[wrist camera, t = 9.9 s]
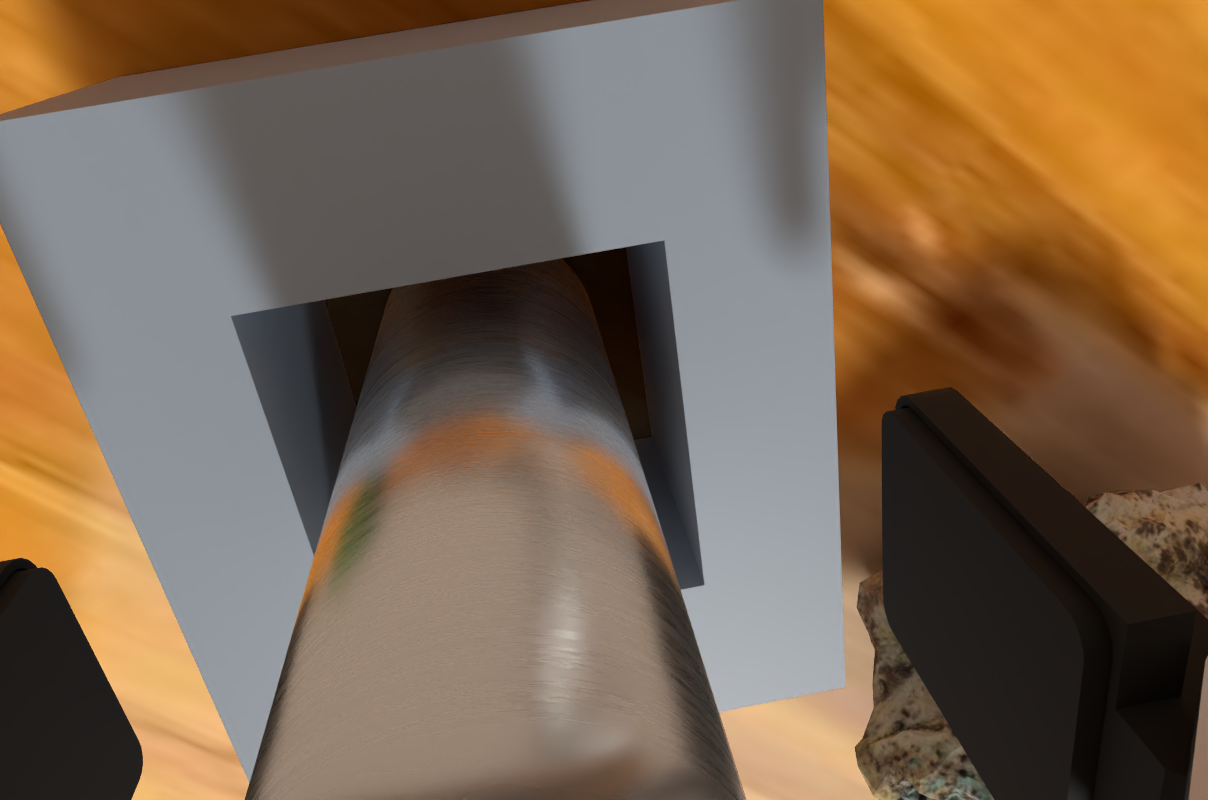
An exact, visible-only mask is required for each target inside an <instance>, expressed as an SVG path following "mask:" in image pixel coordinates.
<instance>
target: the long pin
mask: <svg viewBox="0 0 1208 800" xmlns="http://www.w3.org/2000/svg"><path fill="white" fill-rule="evenodd" d="M245 800H746V797H745V794H744V791H743V788H742V784H741V781H740V778H739V775H738V772H737V768H736V765H735V762H734V759H733V756H732V752H731V749H730V746H729V743H728V740H727V737H726V733H725V730H724V727H723V724H722V721H721V717H720V714H719V711H718V708H717V705H716V701H715V698H714V695H713V692H712V689H711V685H710V682H709V679H708V676H707V673H706V669H705V666H704V663H703V660H702V657H701V653H700V650H699V647H698V644H697V641H696V637H695V634H694V631H693V628H692V625H691V621H690V618H689V615H688V612H687V609H686V605H685V602H684V599H683V596H682V593H681V589H680V586H679V583H678V580H677V577H676V574H675V570H674V567H673V564H672V561H671V558H670V554H669V551H668V548H667V545H666V542H665V538H664V535H663V532H662V529H661V526H660V522H659V519H658V516H657V513H656V510H655V506H654V503H653V500H652V497H651V494H650V490H649V487H648V484H647V481H646V478H645V474H644V471H643V468H642V465H641V462H640V458H639V455H638V452H637V449H636V446H635V442H634V439H633V436H632V433H631V430H630V426H629V423H628V420H627V417H626V414H625V411H624V407H623V404H622V401H621V398H620V395H619V391H618V388H617V385H616V382H615V379H614V375H613V372H612V369H611V366H610V363H609V359H608V356H607V353H606V350H605V347H604V343H603V340H602V337H601V334H600V331H599V327H598V324H597V321H596V318H595V315H594V311H593V308H592V305H591V302H590V299H589V297H588V294H587V292H586V290H585V288H584V286H583V284H582V282H581V281H580V279H579V278H578V276H577V275H576V273H575V272H574V271H573V269H572V268H571V267H570V266H569V265H568V264H567V263H566V262H565V261H564V260H563V259H562V258H560V259H555V260H549V261H543V262H537V263H532V264H526V265H520V266H515V267H509V268H503V269H497V270H492V271H486V272H480V273H475V274H469V275H463V276H457V277H452V278H446V279H440V280H435V281H429V282H423V283H417V284H412V285H406V286H400V287H394V288H392V290H391V292H390V295H389V297H388V300H387V303H386V306H385V310H384V313H383V317H382V321H381V324H380V328H379V331H378V335H377V338H376V342H375V345H374V349H373V352H372V356H371V359H370V363H369V366H368V370H367V373H366V377H365V380H364V384H363V387H362V391H361V394H360V398H359V401H358V405H357V408H356V412H355V415H354V419H353V422H352V426H351V429H350V433H349V436H348V440H347V443H346V447H345V450H344V454H343V457H342V461H341V464H340V468H339V471H338V475H337V478H336V482H335V485H334V489H333V492H332V496H331V499H330V503H329V506H328V510H327V513H326V517H325V520H324V524H323V527H322V531H321V534H320V538H319V541H318V545H317V548H316V552H315V555H314V559H313V562H312V566H311V569H310V573H309V576H308V580H307V583H306V587H305V590H304V594H303V598H302V601H301V605H300V608H299V612H298V615H297V619H296V622H295V626H294V629H293V633H292V636H291V640H290V643H289V647H288V650H287V654H286V657H285V661H284V664H283V668H282V671H281V675H280V678H279V682H278V685H277V689H276V692H275V696H274V699H273V703H272V706H271V710H270V713H269V717H268V720H267V724H266V727H265V731H264V734H263V738H262V741H261V745H260V748H259V752H258V755H257V759H256V762H255V766H254V769H253V773H252V776H251V780H250V783H249V787H248V790H247V794H246V797H245Z"/></svg>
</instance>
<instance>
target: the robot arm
mask: <svg viewBox="0 0 1208 800" xmlns="http://www.w3.org/2000/svg"><path fill="white" fill-rule="evenodd" d="M882 538H883V604H884V610H885V614H886V617H887V620H888V623H889V626H890V628H891V630H892V632H893V634H894V635H895V637H896V639H897V640H898V642H899V643H900V645H901V647H902V648H903V650H904V652H905V653H906V655H907V657H908V658H909V660H910V662H911V663H912V665H913V667H914V668H915V670H916V671H917V673H918V675H919V676H920V678H921V680H922V681H923V683H924V685H925V686H926V688H927V690H928V691H929V693H930V695H931V696H932V698H933V700H934V701H935V703H936V704H937V706H938V708H939V709H940V711H941V713H942V714H943V716H944V718H945V719H946V721H947V723H948V724H949V726H950V728H951V729H952V731H953V733H954V734H955V736H956V737H957V739H958V741H959V742H960V744H961V746H962V747H963V749H964V751H965V752H966V754H967V756H968V757H969V759H970V761H971V762H972V764H973V765H974V767H975V769H976V770H977V772H978V774H979V775H980V777H981V779H982V780H983V782H984V784H985V785H986V787H987V789H988V790H989V792H990V794H991V795H992V797H993V798H994V800H1208V619H1207V618H1206V617H1205V616H1204V615H1203V614H1202V613H1201V612H1199V611H1198V610H1197V609H1196V608H1195V607H1194V606H1193V605H1192V604H1191V603H1190V602H1188V601H1187V600H1186V599H1185V598H1184V597H1183V596H1182V595H1181V594H1180V593H1179V592H1178V591H1176V590H1175V589H1174V588H1173V587H1172V586H1171V585H1170V584H1169V583H1168V582H1167V581H1165V580H1164V579H1163V578H1162V577H1161V576H1160V575H1159V574H1158V573H1157V572H1156V571H1155V570H1153V569H1152V568H1151V567H1150V566H1149V565H1148V564H1147V563H1146V562H1145V561H1144V560H1142V559H1141V558H1140V557H1139V556H1138V555H1137V554H1136V553H1135V552H1134V551H1133V550H1132V549H1130V548H1129V547H1128V546H1127V545H1126V544H1125V543H1124V542H1123V541H1122V540H1121V539H1120V538H1118V537H1117V536H1116V535H1115V534H1114V533H1113V532H1112V531H1111V530H1110V529H1109V528H1107V527H1106V526H1105V525H1104V524H1103V523H1102V522H1101V521H1100V520H1099V519H1098V518H1097V517H1095V516H1094V515H1093V514H1092V513H1091V512H1090V511H1089V510H1088V509H1087V508H1086V507H1084V506H1083V505H1082V504H1081V503H1080V502H1079V501H1078V500H1077V499H1076V498H1075V497H1074V496H1072V495H1071V494H1070V493H1069V492H1067V491H1066V490H1065V489H1064V488H1063V487H1061V486H1060V485H1059V484H1058V483H1057V482H1056V481H1055V480H1054V479H1053V478H1052V477H1051V476H1049V475H1048V474H1047V473H1046V472H1045V471H1044V470H1043V469H1042V468H1041V467H1040V466H1038V465H1037V464H1036V463H1035V462H1034V461H1033V460H1032V459H1031V458H1030V457H1029V456H1028V455H1026V454H1025V453H1024V452H1023V451H1022V450H1021V449H1020V448H1019V447H1018V446H1017V445H1016V444H1014V443H1013V442H1012V441H1011V440H1010V439H1009V438H1008V437H1007V436H1006V435H1005V434H1004V433H1002V432H1001V431H1000V430H999V429H998V428H997V427H996V426H995V425H994V424H993V423H992V422H990V421H989V420H988V419H987V418H986V417H985V416H984V415H983V414H982V413H981V412H979V411H978V410H977V409H976V408H975V407H974V406H973V405H972V404H971V403H970V402H969V401H967V400H966V399H965V398H964V397H963V396H962V395H961V394H960V393H959V392H958V391H956V390H955V389H953V388H943V389H937V390H932V391H926V392H921V393H916V394H910V395H905V396H901V397H900V398H899V399H898V401H897V404H896V409H895V410H893V411H887V412H885V413H884V415H883V418H882ZM142 766H143V755H142V749H141V746H140V743H139V740H138V738H137V736H136V735H135V733H134V731H133V729H132V727H131V725H130V723H129V721H128V719H127V717H126V715H125V713H124V711H123V709H122V707H121V705H120V703H119V701H118V699H117V697H116V695H115V693H114V691H113V689H112V687H111V686H110V684H109V682H108V680H107V678H106V676H105V674H104V672H103V670H102V668H101V666H100V664H99V662H98V660H97V658H96V656H95V654H94V652H93V650H92V648H91V646H90V644H89V642H88V640H87V638H86V636H85V635H84V633H83V631H82V629H81V627H80V625H79V623H78V621H77V619H76V617H75V615H74V613H73V611H72V609H71V607H70V605H69V603H68V601H67V599H66V597H65V595H64V593H63V591H62V589H61V587H60V585H59V584H58V582H57V580H56V578H55V577H54V575H53V574H52V572H50V571H49V570H48V569H46V568H42V567H41V568H37V567H36V565H34V564H33V563H32V562H31V561H29V560H27V559H23V558H18V559H12V560H7V561H2V562H0V800H131V799H132V796H133V794H134V792H135V789H136V787H137V784H138V782H139V780H140V776H141V773H142Z"/></svg>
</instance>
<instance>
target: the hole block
mask: <svg viewBox="0 0 1208 800" xmlns="http://www.w3.org/2000/svg"><path fill="white" fill-rule="evenodd" d="M0 224H1V227H2V229H3V231H4V233H5V235H6V238H7V240H8V242H9V244H10V247H11V249H12V251H13V253H14V256H15V258H16V260H17V262H18V265H19V267H20V269H21V271H22V274H23V276H24V278H25V280H26V283H27V285H28V287H29V289H30V292H31V294H32V296H33V298H34V301H35V303H36V305H37V307H38V310H39V312H40V314H41V316H42V318H43V321H44V323H45V325H46V327H47V330H48V332H49V334H50V336H51V339H52V341H53V343H54V345H55V348H56V350H57V352H58V354H59V357H60V359H61V361H62V363H63V366H64V368H65V370H66V372H67V375H68V377H69V379H70V381H71V384H72V386H73V388H74V390H75V393H76V395H77V397H78V399H79V402H80V404H81V406H82V408H83V410H84V413H85V415H86V417H87V419H88V422H89V424H90V426H91V428H92V431H93V433H94V435H95V437H96V440H97V442H98V444H99V446H100V449H101V451H102V453H103V455H104V458H105V460H106V462H107V464H108V467H109V469H110V471H111V473H112V476H113V478H114V480H115V482H116V485H117V487H118V489H119V491H120V493H121V496H122V498H123V500H124V502H125V505H126V507H127V509H128V511H129V514H130V516H131V518H132V520H133V523H134V525H135V527H136V529H137V532H138V534H139V536H140V538H141V541H142V543H143V545H144V547H145V550H146V552H147V554H148V556H149V559H150V561H151V563H152V565H153V568H154V570H155V572H156V574H157V576H158V579H159V581H160V583H161V585H162V588H163V590H164V592H165V594H166V597H167V599H168V601H169V603H170V606H171V608H172V610H173V612H174V615H175V617H176V619H177V621H178V624H179V626H180V628H181V630H182V633H183V635H184V637H185V639H186V642H187V644H188V646H189V648H190V651H191V653H192V655H193V657H194V660H195V662H196V664H197V666H198V668H199V671H200V673H201V675H202V677H203V680H204V682H205V684H206V686H207V689H208V691H209V693H210V695H211V698H212V700H213V702H214V704H215V707H216V709H217V711H218V713H219V716H220V718H221V720H222V722H223V725H224V727H225V729H226V731H227V734H228V736H229V738H230V740H231V743H232V745H233V747H234V749H235V751H236V754H237V756H238V758H239V760H240V763H241V765H242V767H243V769H244V772H245V774H246V776H247V778H248V781H249V783H250V780H251V776H252V773H253V769H254V766H255V762H256V759H257V755H258V752H259V748H260V745H261V741H262V738H263V734H264V731H265V727H266V724H267V720H268V717H269V713H270V710H271V706H272V703H273V699H274V696H275V692H276V689H277V685H278V682H279V678H280V675H281V671H282V668H283V664H284V661H285V657H286V654H287V650H288V647H289V643H290V640H291V636H292V633H293V629H294V626H295V622H296V619H297V615H298V612H299V608H300V605H301V601H302V598H303V594H304V590H305V587H306V583H307V580H308V576H309V573H310V569H311V566H312V562H313V559H314V555H315V552H316V548H317V545H318V541H319V538H320V534H321V531H322V527H323V524H324V520H325V517H326V513H327V510H328V506H329V503H330V499H331V496H332V492H333V489H334V485H335V482H336V478H337V475H338V471H339V468H340V464H341V461H342V457H343V454H344V450H345V447H346V443H347V440H348V436H349V433H350V429H351V426H352V422H353V419H354V415H355V412H356V408H357V406H356V403H355V399H354V396H353V393H352V389H351V386H350V382H349V379H348V376H347V372H346V369H345V366H344V362H343V359H342V355H341V352H340V349H339V345H338V342H337V338H336V335H335V332H334V328H333V325H332V322H331V318H330V315H329V311H328V308H327V305H326V301H325V300H326V299H332V298H337V297H343V296H349V295H354V294H360V293H366V292H372V291H377V290H383V289H389V288H394V287H400V286H406V285H412V284H417V283H423V282H429V281H435V280H440V279H446V278H452V277H457V276H463V275H469V274H475V273H480V272H486V271H492V270H497V269H503V268H509V267H515V266H520V265H526V264H532V263H537V262H543V261H549V260H555V259H560V258H566V257H572V256H578V255H583V254H589V253H595V252H600V251H606V250H612V249H618V248H623V247H626V252H627V260H628V267H629V274H630V282H631V289H632V296H633V304H634V311H635V318H636V326H637V333H638V340H639V348H640V355H641V362H642V370H643V377H644V384H645V392H646V399H647V406H648V414H649V421H650V428H651V436H652V437H647V438H641V439H636V440H634V442H635V446H636V449H637V452H638V455H639V458H640V462H641V465H642V468H643V471H644V474H645V478H646V481H647V484H648V487H649V490H650V494H651V497H652V500H653V503H654V506H655V510H656V513H657V516H658V519H659V522H660V526H661V529H662V532H663V535H664V538H665V542H666V545H667V548H668V551H669V554H670V558H671V561H672V564H673V567H674V570H675V574H676V577H677V580H678V583H679V586H680V589H681V593H682V596H683V599H684V602H685V605H686V609H687V612H688V615H689V618H690V621H691V625H692V628H693V631H694V634H695V637H696V641H697V644H698V647H699V650H700V653H701V657H702V660H703V663H704V666H705V669H706V673H707V676H708V679H709V682H710V685H711V689H712V692H713V695H714V698H715V701H716V705H717V708H718V711H719V712H723V711H728V710H733V709H738V708H743V707H748V706H753V705H758V704H763V703H768V702H773V701H778V700H783V699H788V698H793V697H798V696H803V695H808V694H813V693H818V692H823V691H828V690H833V689H838V688H843V687H845V657H844V627H843V596H842V566H841V536H840V505H839V475H838V445H837V414H836V384H835V353H834V323H833V293H832V262H831V232H830V202H829V171H828V141H827V111H826V80H825V50H824V20H823V0H590V1H584V2H577V3H571V4H565V5H559V6H553V7H547V8H540V9H534V10H528V11H522V12H516V13H510V14H503V15H497V16H491V17H485V18H479V19H473V20H467V21H460V22H454V23H448V24H442V25H436V26H430V27H423V28H417V29H411V30H405V31H399V32H393V33H386V34H380V35H374V36H368V37H362V38H356V39H349V40H343V41H337V42H331V43H325V44H319V45H312V46H306V47H300V48H294V49H288V50H282V51H275V52H269V53H263V54H257V55H251V56H245V57H238V58H232V59H226V60H220V61H214V62H208V63H202V64H195V65H189V66H183V67H177V68H171V69H165V70H158V71H152V72H146V73H140V74H134V75H128V76H121V77H116V78H113V79H110V80H106V81H103V82H100V83H97V84H94V85H91V86H88V87H84V88H81V89H78V90H75V91H72V92H69V93H66V94H63V95H59V96H56V97H53V98H50V99H47V100H44V101H41V102H37V103H34V104H31V105H28V106H25V107H22V108H19V109H16V110H12V111H9V112H6V113H3V114H0Z"/></svg>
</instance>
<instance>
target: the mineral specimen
mask: <svg viewBox="0 0 1208 800" xmlns="http://www.w3.org/2000/svg"><path fill="white" fill-rule="evenodd" d="M1085 507H1086V508H1087V509H1088V510H1089V511H1090V512H1091V513H1092V514H1093V515H1094V516H1095V517H1097V518H1098V519H1099V520H1100V521H1101V522H1102V523H1103V524H1104V525H1105V526H1106V527H1107V528H1109V529H1110V530H1111V531H1112V532H1113V533H1114V534H1115V535H1116V536H1117V537H1118V538H1120V539H1121V540H1122V541H1123V542H1124V543H1125V544H1126V545H1127V546H1128V547H1129V548H1130V549H1132V550H1133V551H1134V552H1135V553H1136V554H1137V555H1138V556H1139V557H1140V558H1141V559H1142V560H1144V561H1145V562H1146V563H1147V564H1148V565H1149V566H1150V567H1151V568H1152V569H1153V570H1155V571H1156V572H1157V573H1158V574H1159V575H1160V576H1161V577H1162V578H1163V579H1164V580H1165V581H1167V582H1168V583H1169V584H1170V585H1171V586H1172V587H1173V588H1174V589H1175V590H1176V591H1178V592H1179V593H1180V594H1181V595H1182V596H1183V597H1184V598H1185V599H1186V600H1187V601H1188V602H1190V603H1191V604H1192V605H1193V606H1194V607H1195V608H1196V609H1197V610H1198V611H1199V612H1201V613H1202V614H1203V615H1204V616H1205V617H1206V618H1207V619H1208V491H1207V490H1206V488H1205V487H1204V486H1203V485H1202V484H1201V482H1200V483H1196V484H1192V485H1187V486H1183V487H1179V488H1175V489H1170V490H1166V491H1162V492H1158V491H1155V490H1140V491H1121V490H1119V491H1114V492H1110V493H1107V492H1105V493H1104V494H1101V495H1097V496H1093V497H1089V498H1088V501H1087V504H1086V506H1085ZM857 609H858V611H859V614H860V616H861V618H862V620H863V622H864V624H865V626H866V629H867V631H868V633H869V636H870V638H871V642H872V644H873V646H874V648H875V658H874V671H873V700H874V709H873V711H872V714H871V717H870V720H869V722H868V725H867V728H866V730H865V733H864V736H863V739H862V740H861V741H860V742H859V743H858V744H857V745H856V746H855V752H856V758H857V764H858V767H859V769H860V771H861V773H862V775H863V777H864V779H865V781H866V782H867V784H868V786H869V788H870V790H871V792H872V794H873V796H874V797H876V798H878V799H879V800H994V798H993V797H992V795H991V794H990V792H989V790H988V789H987V787H986V785H985V784H984V782H983V780H982V779H981V777H980V775H979V774H978V772H977V770H976V769H975V767H974V765H973V764H972V762H971V761H970V759H969V757H968V756H967V754H966V752H965V751H964V749H963V747H962V746H961V744H960V742H959V741H958V739H957V737H956V736H955V734H954V733H953V731H952V729H951V728H950V726H949V724H948V723H947V721H946V719H945V718H944V716H943V714H942V713H941V711H940V709H939V708H938V706H937V704H936V703H935V701H934V700H933V698H932V696H931V695H930V693H929V691H928V690H927V688H926V686H925V685H924V683H923V681H922V680H921V678H920V676H919V675H918V673H917V671H916V670H915V668H914V667H913V665H912V663H911V662H910V660H909V658H908V657H907V655H906V653H905V652H904V650H903V648H902V647H901V645H900V643H899V642H898V640H897V639H896V637H895V635H894V634H893V632H892V630H891V628H890V626H889V623H888V620H887V617H886V614H885V610H884V604H883V571H879V572H877V573H875V574H874V575H872V576H870V577H869V578H867V579H865V580H864V581H862V582H860V586H859V593H858V601H857Z"/></svg>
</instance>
